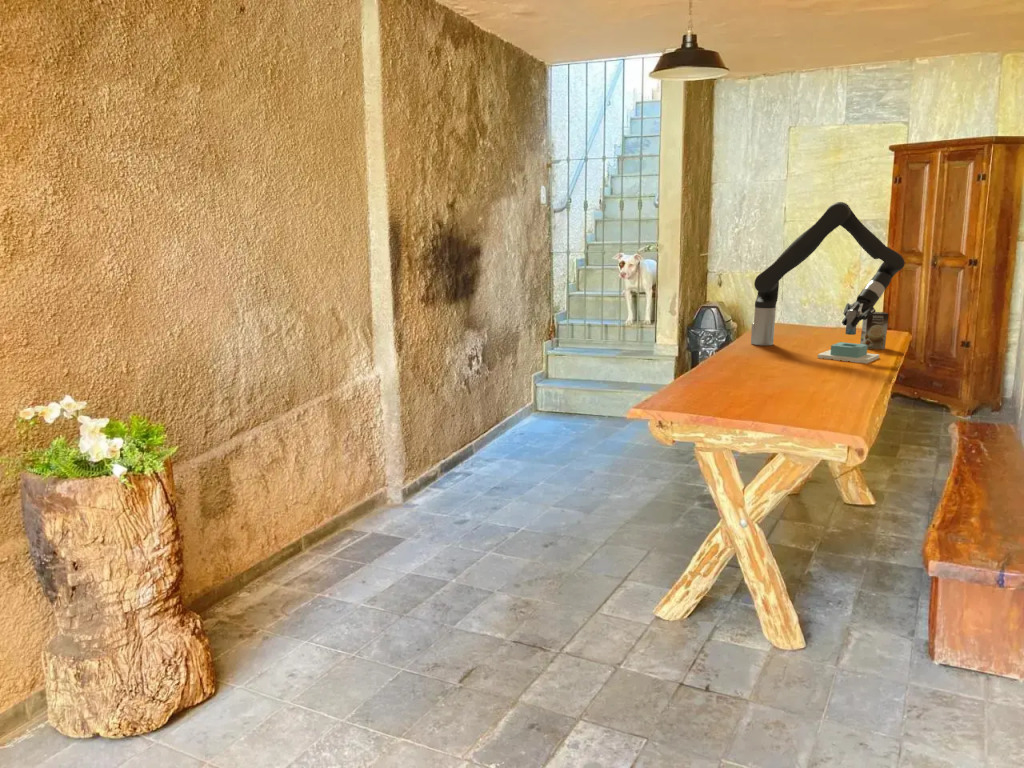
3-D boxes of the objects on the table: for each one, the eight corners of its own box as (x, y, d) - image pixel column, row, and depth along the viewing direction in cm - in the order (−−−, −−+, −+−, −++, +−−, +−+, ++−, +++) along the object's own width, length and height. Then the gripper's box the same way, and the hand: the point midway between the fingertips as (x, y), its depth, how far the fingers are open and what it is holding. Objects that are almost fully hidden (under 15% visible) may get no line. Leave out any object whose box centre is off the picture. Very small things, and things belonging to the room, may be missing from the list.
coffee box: (864, 349, 359) (867, 313, 355) (859, 346, 365) (862, 311, 362) (885, 349, 358) (889, 313, 354) (880, 346, 364) (884, 311, 361)
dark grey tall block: (844, 334, 335) (845, 310, 333) (847, 332, 338) (849, 309, 336) (853, 335, 333) (855, 311, 331) (857, 333, 336) (859, 310, 334)
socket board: (817, 357, 338) (818, 345, 337) (831, 352, 350) (832, 340, 349) (866, 363, 326) (868, 350, 324) (879, 358, 337) (880, 345, 336)
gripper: (853, 286, 341) (830, 317, 338) (881, 289, 329) (857, 321, 326) (860, 298, 344) (838, 328, 342) (889, 301, 332) (866, 333, 329)
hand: (848, 324), depth 334 cm, fingers closed on dark grey tall block, 4 cm apart
